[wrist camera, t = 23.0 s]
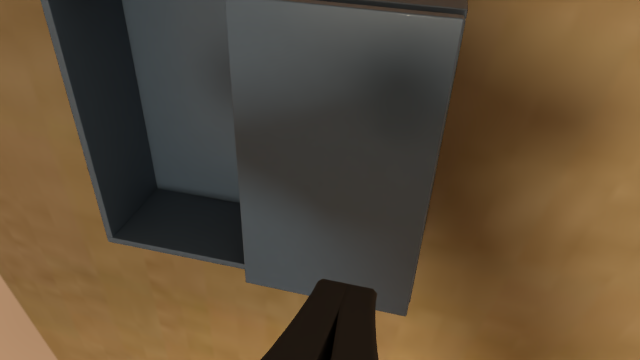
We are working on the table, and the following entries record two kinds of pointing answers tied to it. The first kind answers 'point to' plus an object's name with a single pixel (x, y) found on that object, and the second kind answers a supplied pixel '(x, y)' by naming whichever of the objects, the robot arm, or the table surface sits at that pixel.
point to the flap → (337, 139)
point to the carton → (164, 117)
